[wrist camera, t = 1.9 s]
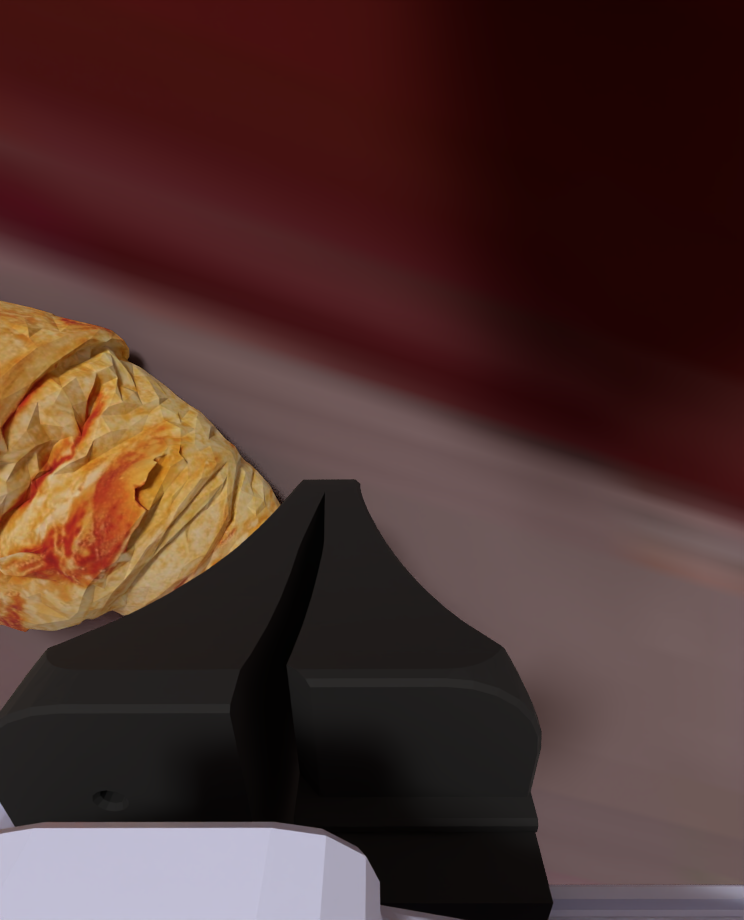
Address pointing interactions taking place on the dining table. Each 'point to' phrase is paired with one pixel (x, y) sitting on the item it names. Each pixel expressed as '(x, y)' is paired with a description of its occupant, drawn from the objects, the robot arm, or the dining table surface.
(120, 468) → the croissant
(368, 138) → the dining table surface
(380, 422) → the dining table surface
